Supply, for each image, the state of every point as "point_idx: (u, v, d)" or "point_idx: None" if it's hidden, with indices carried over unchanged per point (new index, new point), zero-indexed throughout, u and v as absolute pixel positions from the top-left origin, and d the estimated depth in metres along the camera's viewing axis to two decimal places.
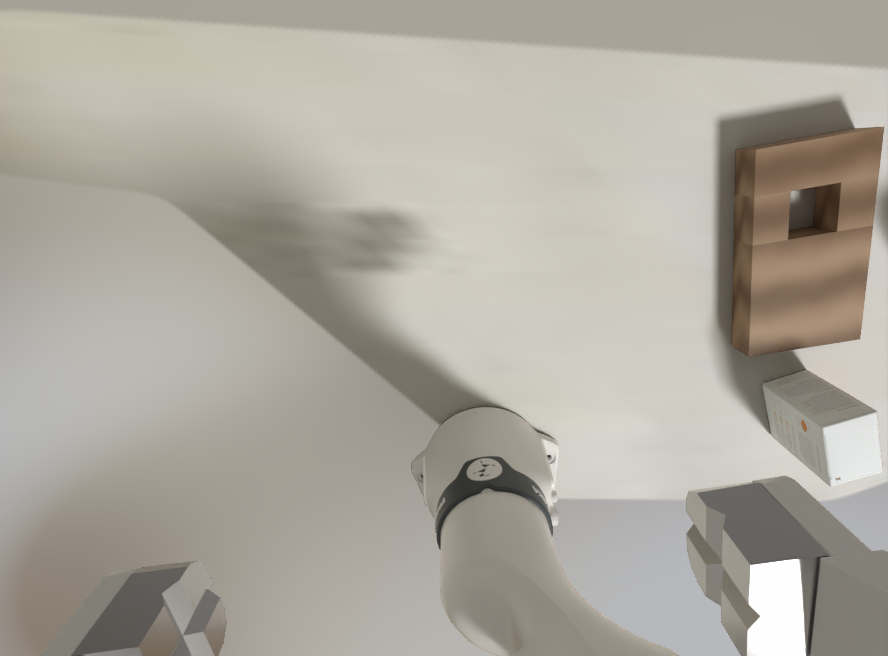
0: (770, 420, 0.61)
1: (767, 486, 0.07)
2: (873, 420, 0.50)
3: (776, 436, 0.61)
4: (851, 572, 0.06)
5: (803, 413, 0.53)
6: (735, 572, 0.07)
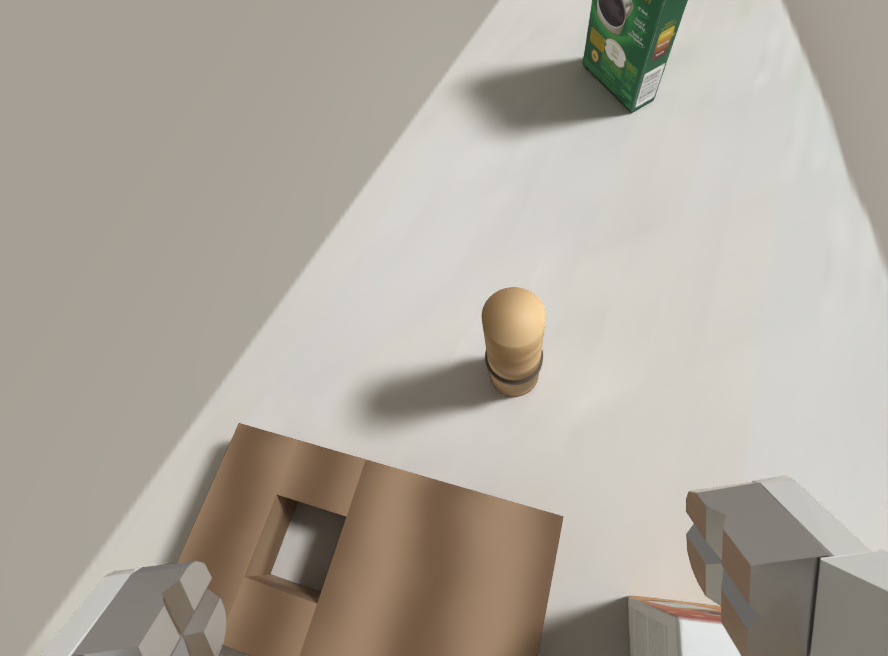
0: None
1: (766, 486, 0.07)
2: (702, 633, 0.20)
3: None
4: (850, 571, 0.06)
5: None
6: (735, 572, 0.07)
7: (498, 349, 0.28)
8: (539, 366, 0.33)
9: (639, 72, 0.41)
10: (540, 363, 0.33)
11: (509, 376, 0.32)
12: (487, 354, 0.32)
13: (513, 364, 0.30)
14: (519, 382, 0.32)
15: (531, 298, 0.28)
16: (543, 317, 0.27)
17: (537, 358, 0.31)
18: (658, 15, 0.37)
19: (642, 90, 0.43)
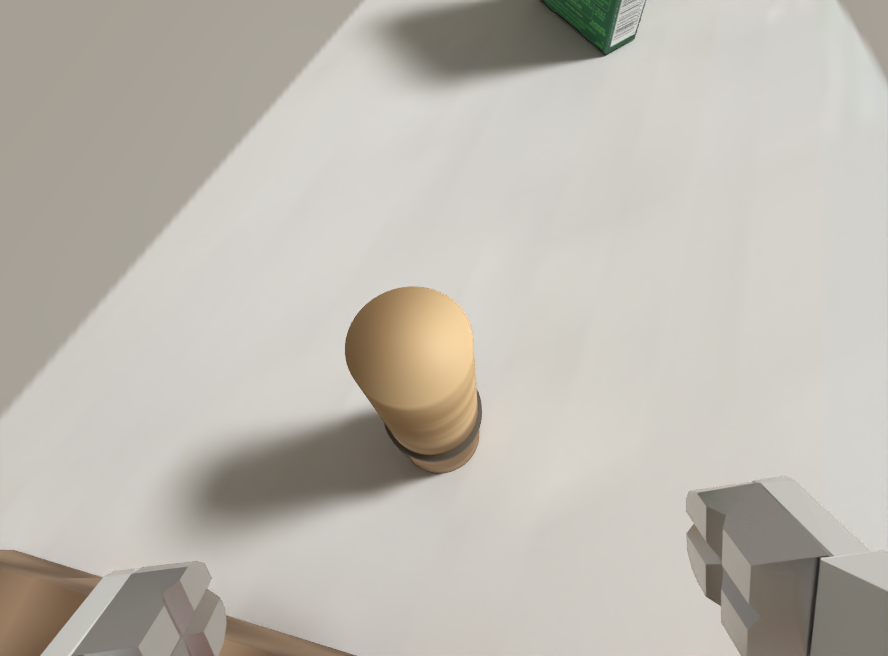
0: None
1: (766, 486, 0.07)
2: None
3: None
4: (850, 571, 0.06)
5: None
6: (735, 572, 0.07)
7: (383, 410, 0.14)
8: (475, 428, 0.19)
9: None
10: (477, 422, 0.19)
11: (421, 450, 0.18)
12: None
13: (420, 434, 0.16)
14: (440, 458, 0.18)
15: (445, 307, 0.14)
16: (468, 345, 0.13)
17: (467, 418, 0.17)
18: None
19: (620, 18, 0.30)
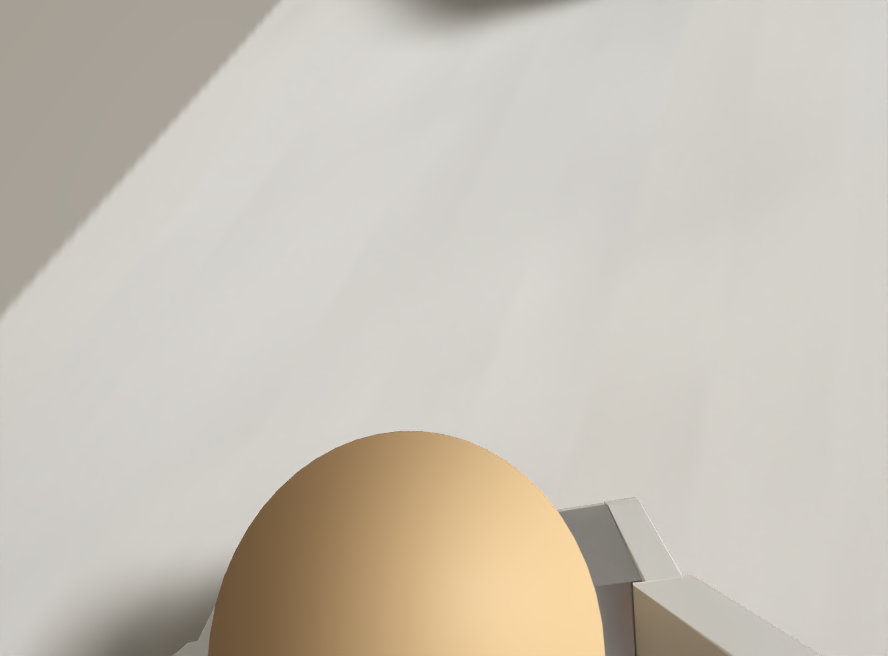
0: None
1: (612, 508, 0.07)
2: None
3: None
4: (654, 597, 0.06)
5: None
6: None
7: None
8: None
9: None
10: None
11: None
12: None
13: None
14: None
15: (506, 503, 0.05)
16: (589, 652, 0.04)
17: None
18: None
19: None
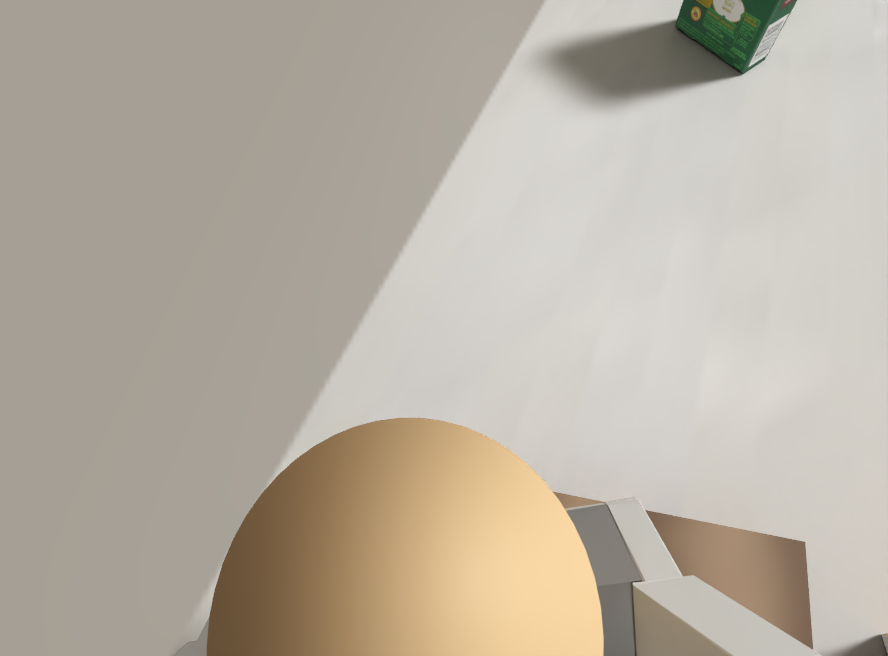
0: None
1: (611, 508, 0.07)
2: None
3: None
4: (654, 598, 0.06)
5: None
6: None
7: None
8: None
9: (762, 23, 0.37)
10: None
11: None
12: None
13: None
14: None
15: (505, 489, 0.05)
16: (588, 635, 0.04)
17: None
18: None
19: (760, 45, 0.38)
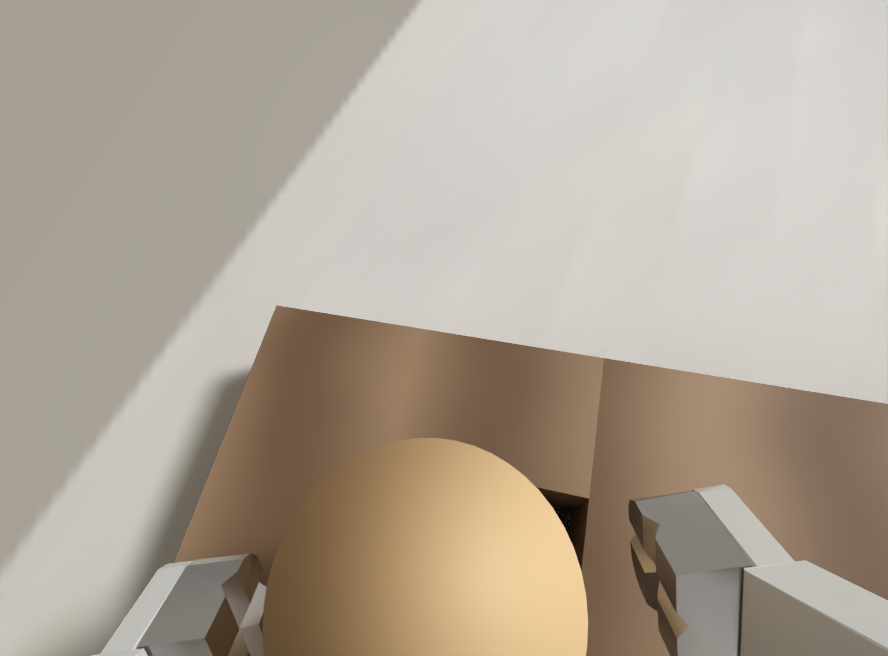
0: None
1: (703, 495, 0.07)
2: None
3: None
4: (770, 582, 0.06)
5: None
6: (665, 581, 0.07)
7: None
8: None
9: None
10: None
11: None
12: None
13: None
14: None
15: (508, 498, 0.06)
16: (575, 618, 0.05)
17: None
18: None
19: None
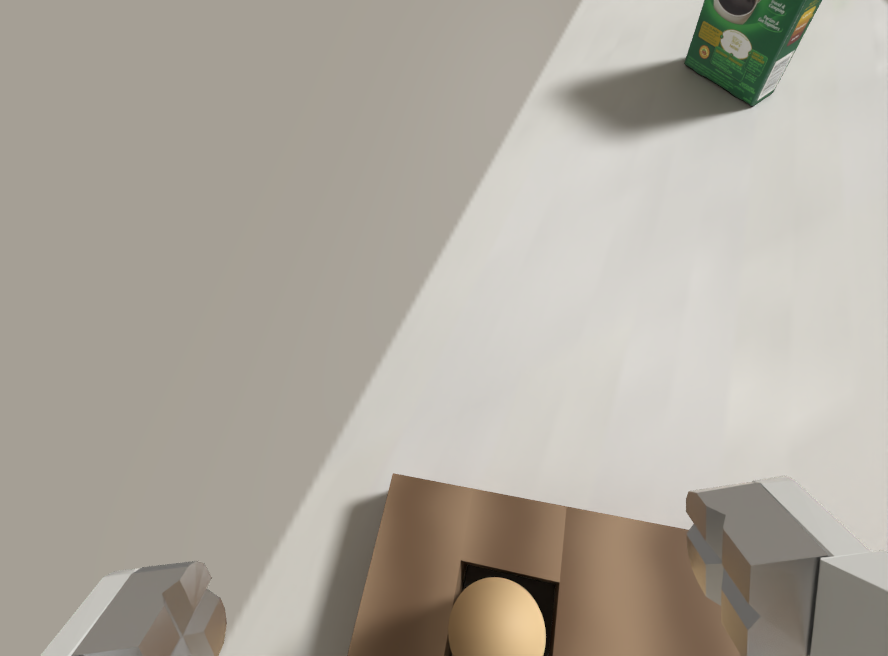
0: None
1: (766, 486, 0.07)
2: None
3: None
4: (851, 572, 0.06)
5: None
6: (735, 572, 0.07)
7: None
8: None
9: (769, 60, 0.38)
10: None
11: None
12: None
13: None
14: None
15: (521, 598, 0.18)
16: (542, 635, 0.18)
17: None
18: None
19: (768, 80, 0.40)
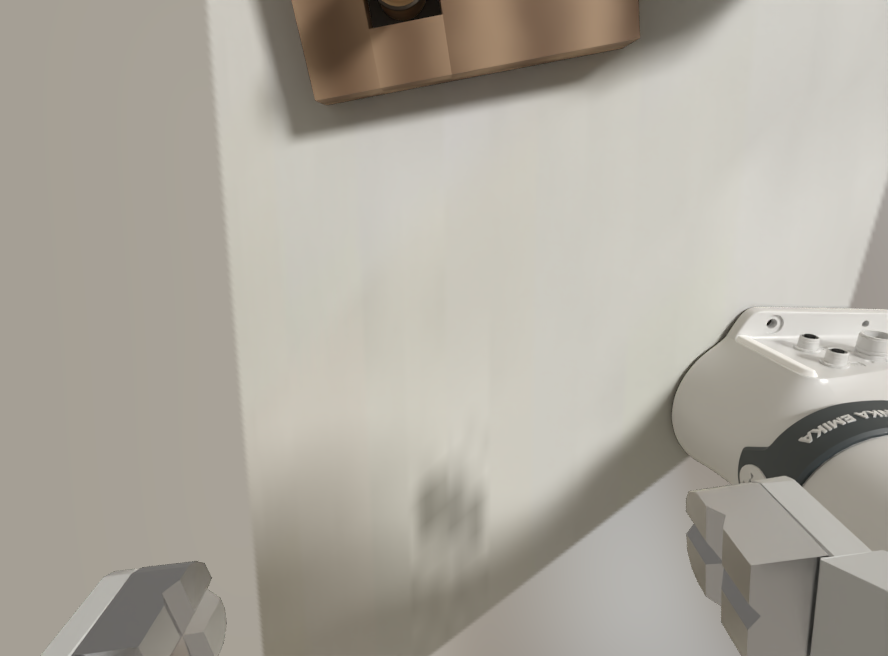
0: None
1: (767, 486, 0.07)
2: None
3: None
4: (850, 572, 0.06)
5: None
6: (735, 572, 0.07)
7: None
8: None
9: None
10: None
11: (403, 2, 0.31)
12: None
13: None
14: (414, 3, 0.32)
15: None
16: None
17: None
18: None
19: None
